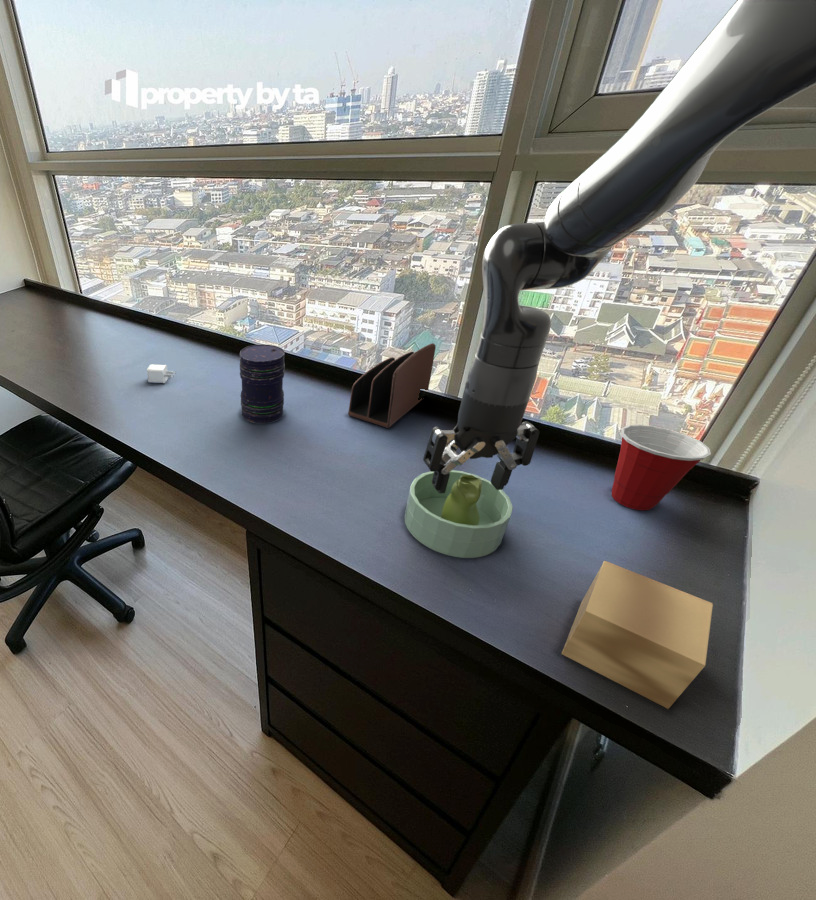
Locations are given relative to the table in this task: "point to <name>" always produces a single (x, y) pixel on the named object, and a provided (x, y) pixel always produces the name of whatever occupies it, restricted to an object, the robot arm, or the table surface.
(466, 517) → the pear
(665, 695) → the block
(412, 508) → the pot
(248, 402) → the dark blue canister
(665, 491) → the plastic cup
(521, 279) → the robot arm
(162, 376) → the usb wall charger
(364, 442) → the table surface
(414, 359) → the letter holder
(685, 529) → the table surface
